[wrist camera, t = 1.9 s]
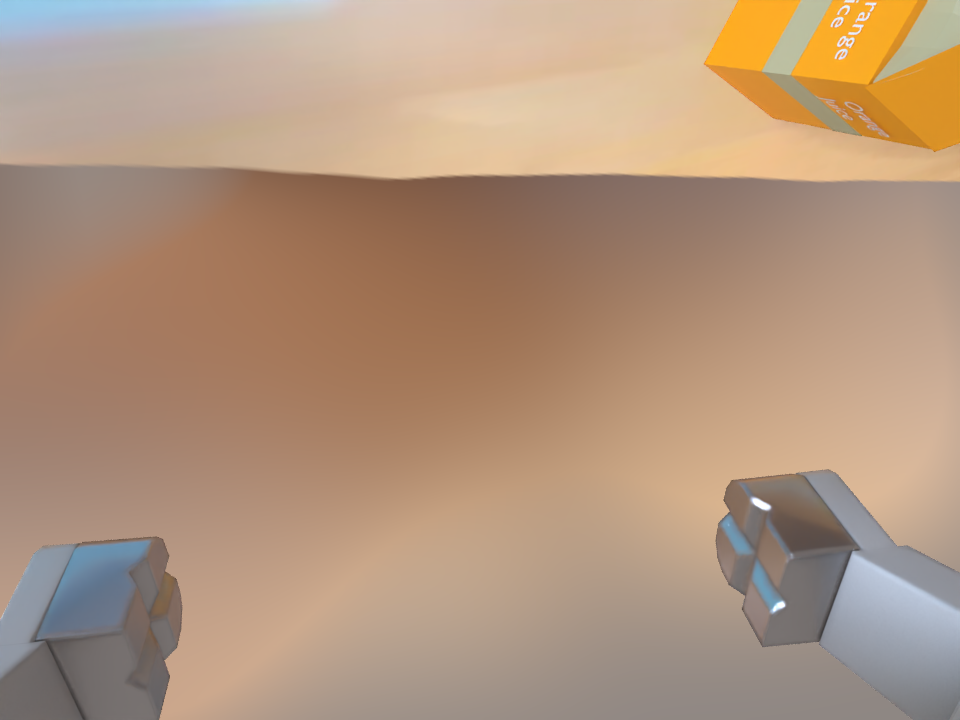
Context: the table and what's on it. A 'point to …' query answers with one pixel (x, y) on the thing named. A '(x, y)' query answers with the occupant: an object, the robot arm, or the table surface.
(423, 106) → the table surface
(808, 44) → the orange juice
